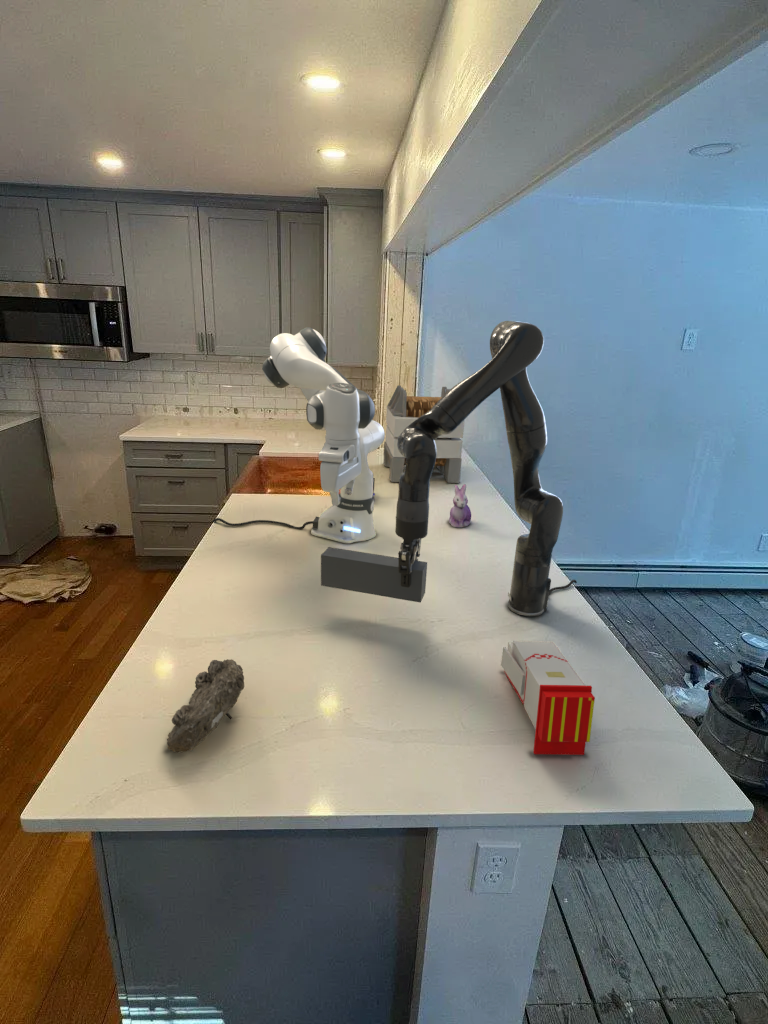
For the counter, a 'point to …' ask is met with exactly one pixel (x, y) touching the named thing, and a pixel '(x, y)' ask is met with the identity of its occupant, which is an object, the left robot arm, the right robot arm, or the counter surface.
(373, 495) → the figurine character
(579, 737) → the toy
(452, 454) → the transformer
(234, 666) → the fossil
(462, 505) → the figurine
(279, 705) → the counter surface
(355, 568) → the bar
